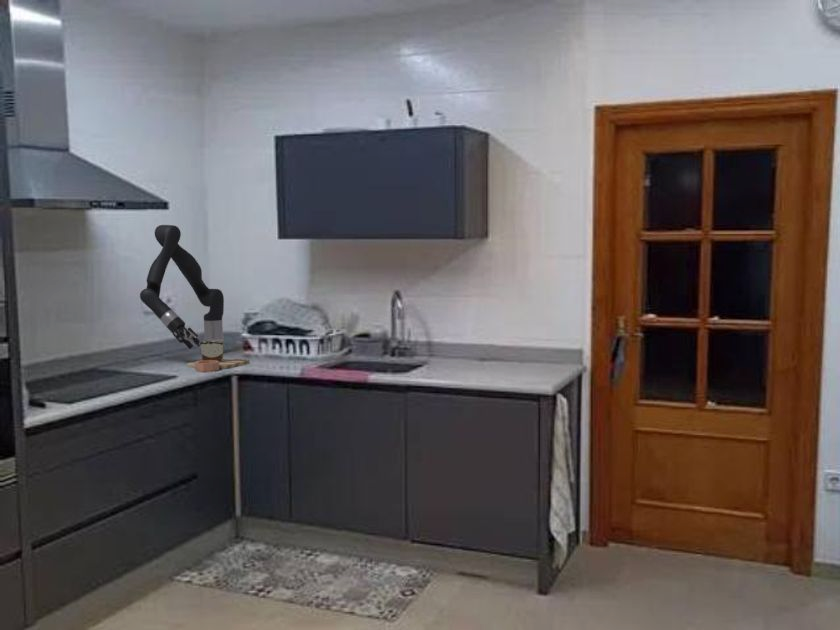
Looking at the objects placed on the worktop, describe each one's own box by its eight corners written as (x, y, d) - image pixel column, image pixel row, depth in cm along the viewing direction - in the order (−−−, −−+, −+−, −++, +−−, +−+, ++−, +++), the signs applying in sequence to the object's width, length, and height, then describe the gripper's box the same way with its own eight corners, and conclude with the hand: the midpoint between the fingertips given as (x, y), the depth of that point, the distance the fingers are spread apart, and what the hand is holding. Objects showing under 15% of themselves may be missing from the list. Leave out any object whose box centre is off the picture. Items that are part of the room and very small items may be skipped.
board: (210, 361, 394) (210, 357, 394) (249, 363, 386) (249, 359, 385) (186, 366, 377) (186, 362, 377) (226, 368, 369) (226, 364, 369)
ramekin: (205, 368, 372) (204, 359, 372) (223, 369, 368) (223, 360, 368) (191, 371, 363) (190, 363, 363) (209, 373, 359) (209, 364, 359)
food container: (229, 360, 385) (228, 339, 384) (225, 362, 379) (224, 340, 378) (204, 360, 386) (203, 339, 385) (199, 362, 380) (198, 340, 379)
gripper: (170, 317, 377) (194, 342, 376) (185, 314, 391) (208, 339, 390) (160, 329, 379) (183, 354, 377) (175, 325, 392) (198, 349, 391)
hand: (196, 346), depth 383 cm, fingers open, 8 cm apart
